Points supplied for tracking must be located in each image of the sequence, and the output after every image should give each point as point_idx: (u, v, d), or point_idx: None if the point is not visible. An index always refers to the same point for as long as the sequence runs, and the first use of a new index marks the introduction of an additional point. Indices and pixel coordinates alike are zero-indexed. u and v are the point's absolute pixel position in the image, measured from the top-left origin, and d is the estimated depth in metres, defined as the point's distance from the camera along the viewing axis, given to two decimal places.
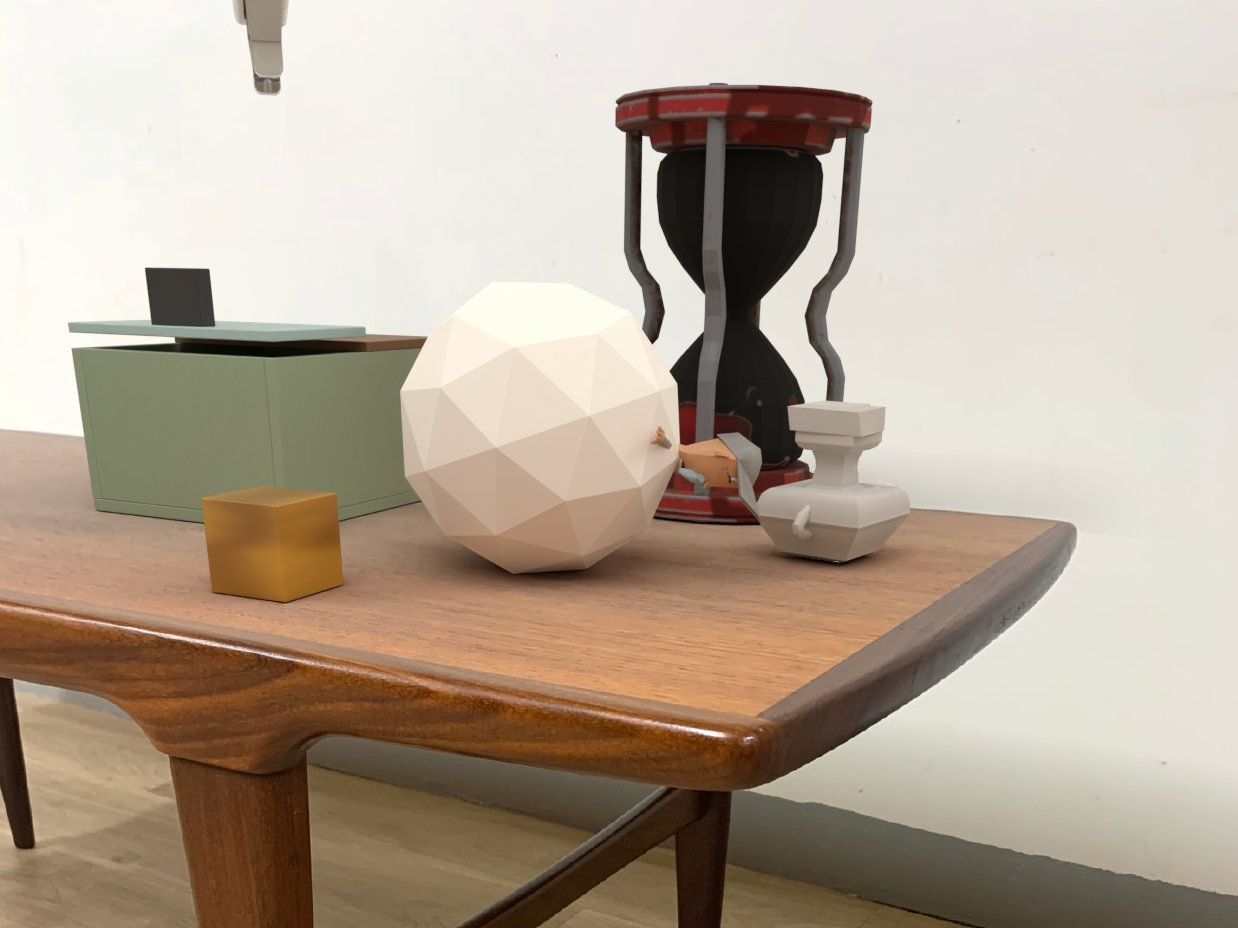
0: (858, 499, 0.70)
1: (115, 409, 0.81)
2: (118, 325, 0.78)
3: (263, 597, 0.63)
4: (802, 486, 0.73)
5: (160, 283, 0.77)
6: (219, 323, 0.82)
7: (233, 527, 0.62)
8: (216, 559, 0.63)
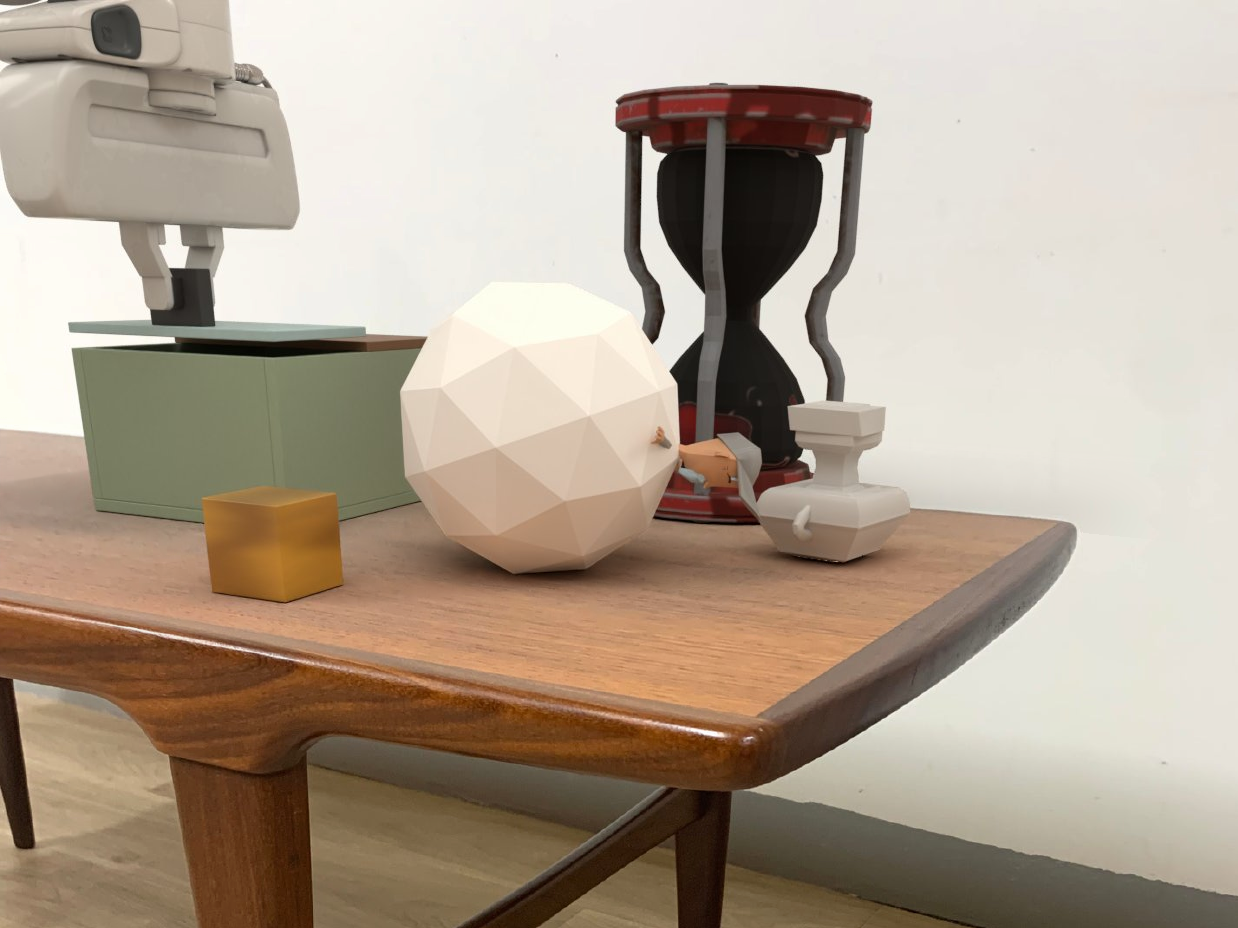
0: (858, 499, 0.70)
1: (115, 409, 0.81)
2: (118, 325, 0.78)
3: (263, 597, 0.63)
4: (802, 486, 0.73)
5: None
6: (219, 323, 0.82)
7: (233, 527, 0.62)
8: (216, 559, 0.63)
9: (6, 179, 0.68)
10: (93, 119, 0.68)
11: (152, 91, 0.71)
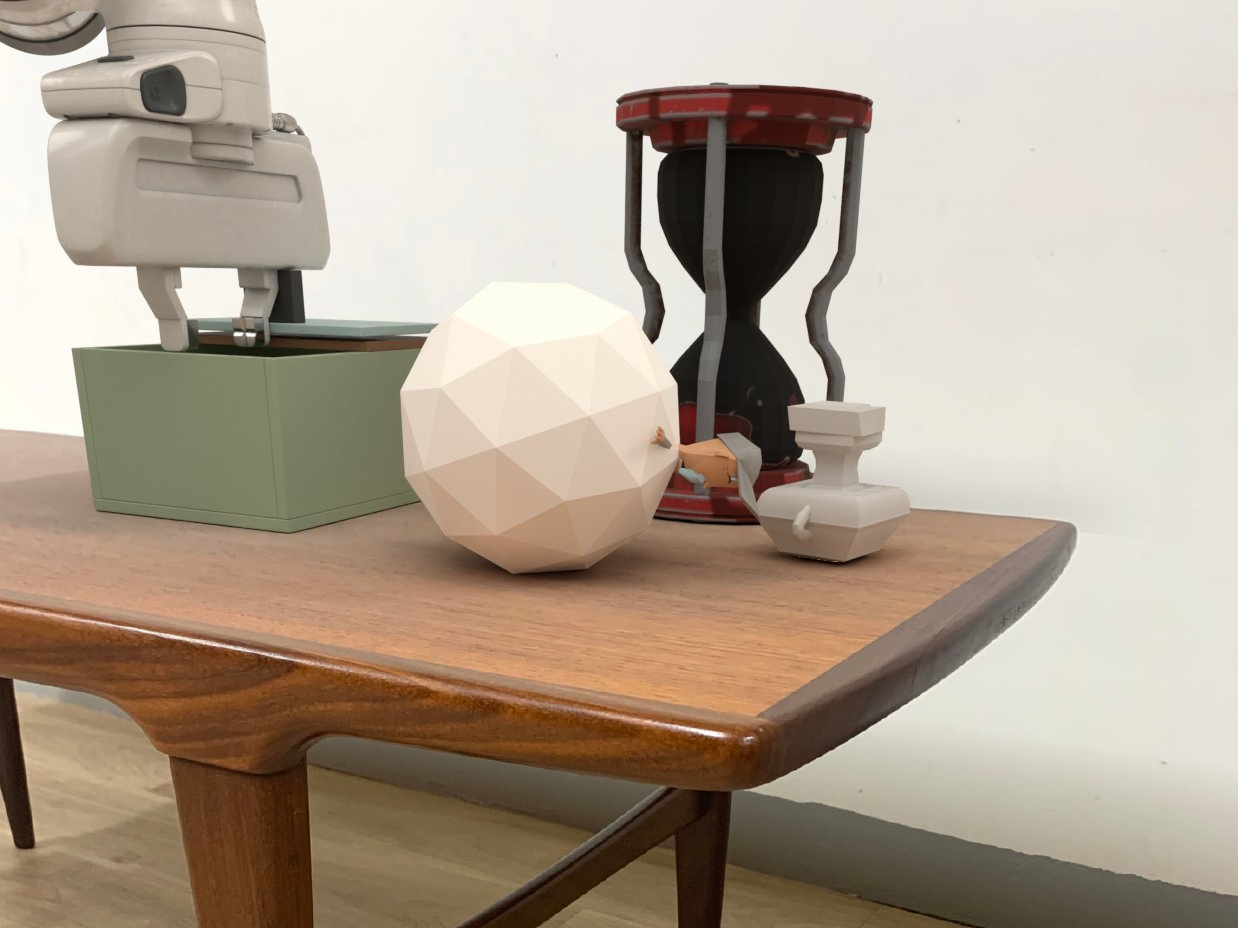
0: (858, 499, 0.70)
1: (115, 409, 0.81)
2: (216, 322, 0.85)
3: None
4: (802, 486, 0.73)
5: None
6: (305, 320, 0.89)
7: None
8: None
9: (57, 230, 0.71)
10: (140, 172, 0.71)
11: (195, 144, 0.74)
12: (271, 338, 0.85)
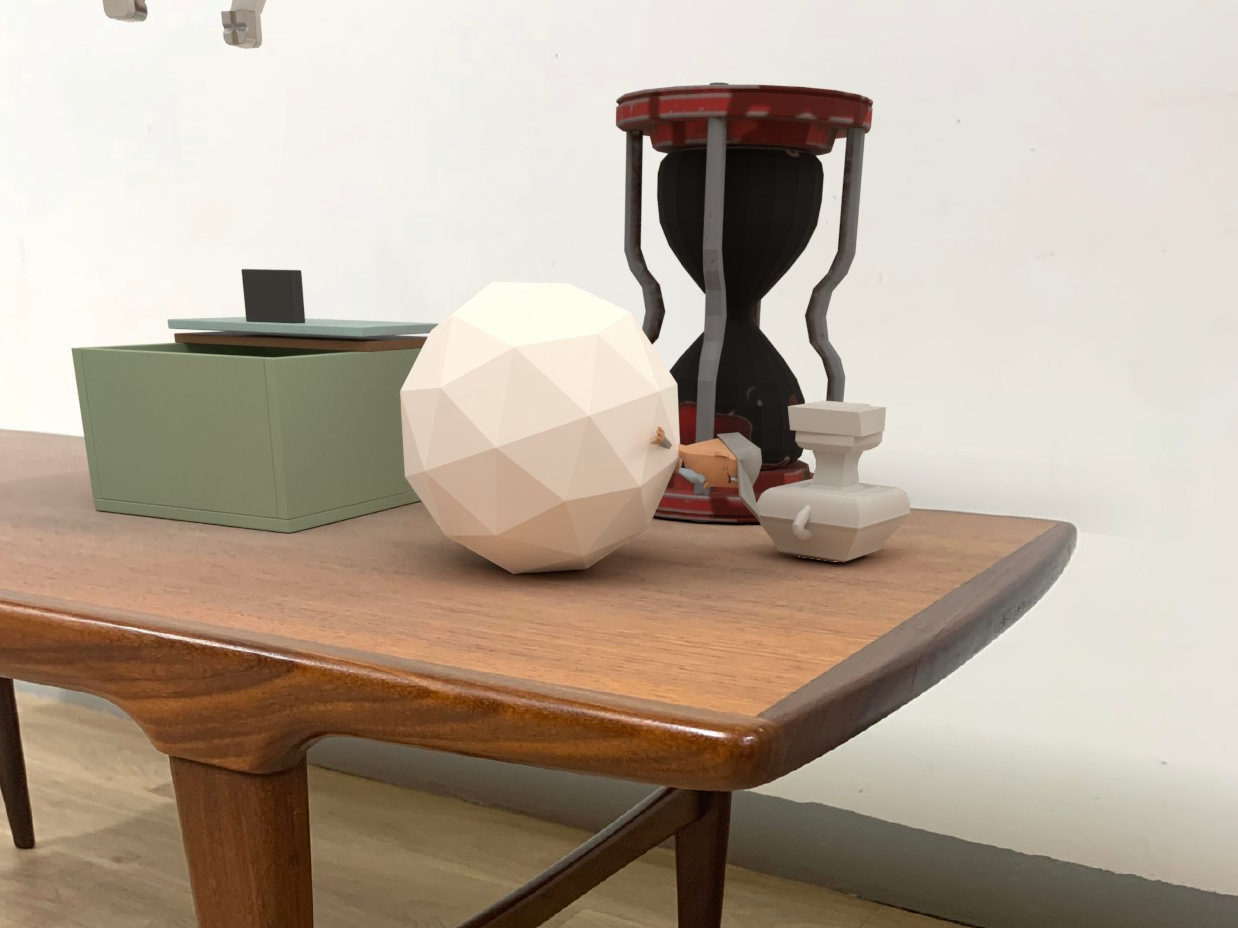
0: (858, 499, 0.70)
1: (115, 409, 0.81)
2: (215, 322, 0.85)
3: None
4: (802, 486, 0.73)
5: (256, 283, 0.84)
6: (304, 320, 0.89)
7: None
8: None
9: None
10: None
11: None
12: (271, 338, 0.85)
